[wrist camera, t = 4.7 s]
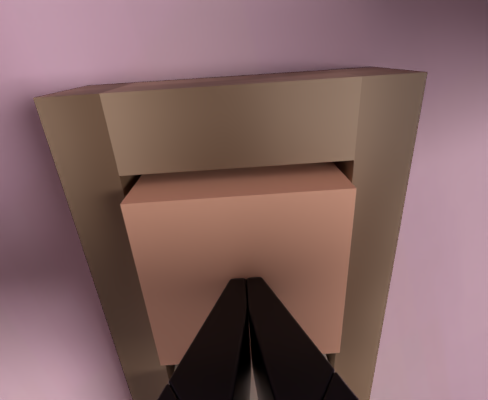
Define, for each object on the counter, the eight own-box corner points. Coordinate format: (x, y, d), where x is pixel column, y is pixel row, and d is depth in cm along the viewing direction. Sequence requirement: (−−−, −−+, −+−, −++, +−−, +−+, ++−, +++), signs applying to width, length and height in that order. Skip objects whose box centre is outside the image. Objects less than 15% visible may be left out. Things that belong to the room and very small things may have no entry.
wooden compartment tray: (373, 67, 10) (427, 71, 7) (329, 472, 20) (344, 537, 17) (87, 85, 10) (32, 97, 7) (189, 482, 20) (182, 550, 17)
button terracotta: (318, 146, 10) (356, 188, 7) (312, 277, 13) (339, 352, 9) (154, 157, 10) (119, 203, 7) (178, 286, 13) (160, 365, 9)
